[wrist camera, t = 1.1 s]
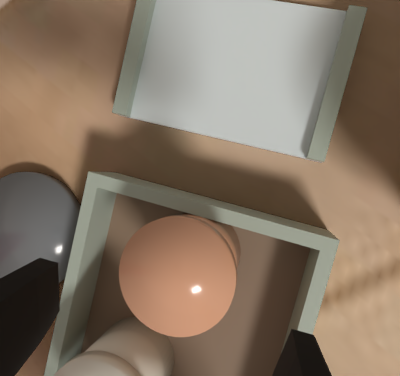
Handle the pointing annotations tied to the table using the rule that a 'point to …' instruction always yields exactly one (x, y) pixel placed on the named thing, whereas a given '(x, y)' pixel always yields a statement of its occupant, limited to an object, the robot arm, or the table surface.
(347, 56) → the glass lid
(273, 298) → the green square tray
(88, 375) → the cream pot
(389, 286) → the table surface
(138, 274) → the tan jar
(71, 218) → the slate saucer
